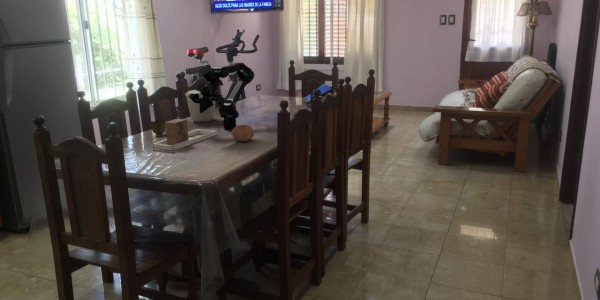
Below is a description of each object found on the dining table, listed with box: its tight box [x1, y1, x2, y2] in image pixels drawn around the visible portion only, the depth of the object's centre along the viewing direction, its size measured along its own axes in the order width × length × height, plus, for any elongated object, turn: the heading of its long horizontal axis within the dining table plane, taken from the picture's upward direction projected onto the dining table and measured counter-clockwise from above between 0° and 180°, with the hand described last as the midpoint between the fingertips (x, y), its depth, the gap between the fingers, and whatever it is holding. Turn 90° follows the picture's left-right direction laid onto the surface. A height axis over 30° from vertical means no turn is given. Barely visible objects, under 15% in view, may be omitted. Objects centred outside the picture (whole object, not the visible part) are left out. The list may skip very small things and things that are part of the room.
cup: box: [149, 119, 166, 138], centre depth 244 cm, size 8×7×8 cm
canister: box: [184, 89, 216, 123], centre depth 279 cm, size 18×18×21 cm
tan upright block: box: [165, 118, 189, 145], centre depth 221 cm, size 8×6×11 cm
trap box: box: [151, 128, 218, 154], centre depth 227 cm, size 32×12×4 cm, turn 152°
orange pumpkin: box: [231, 124, 255, 143], centre depth 230 cm, size 11×11×8 cm
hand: (200, 112), depth 235 cm, fingers closed
